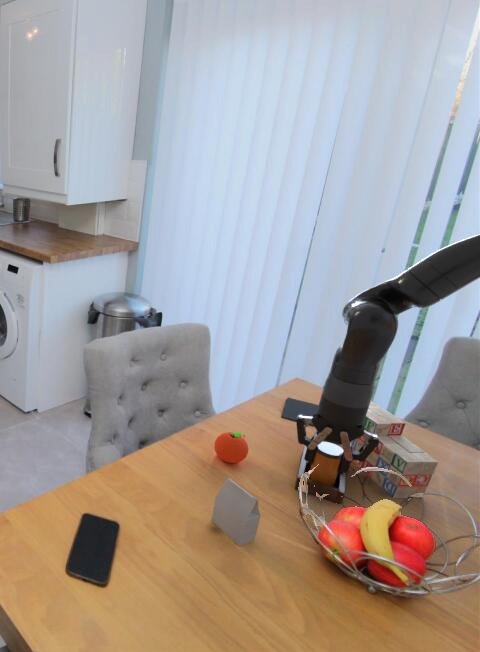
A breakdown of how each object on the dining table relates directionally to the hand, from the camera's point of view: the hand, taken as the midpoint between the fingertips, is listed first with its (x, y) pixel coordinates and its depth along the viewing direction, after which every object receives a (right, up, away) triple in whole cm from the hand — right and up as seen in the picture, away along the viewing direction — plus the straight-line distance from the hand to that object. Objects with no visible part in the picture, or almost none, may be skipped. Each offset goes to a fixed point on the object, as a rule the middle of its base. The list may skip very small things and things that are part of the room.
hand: (325, 466), depth 100 cm
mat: (+17, +6, +27) cm, 32 cm away
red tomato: (-14, -2, +12) cm, 18 cm away
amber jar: (0, -4, +2) cm, 4 cm away
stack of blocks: (+16, -2, +8) cm, 18 cm away
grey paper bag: (-24, -10, -8) cm, 27 cm away
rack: (+2, -4, +5) cm, 6 cm away
